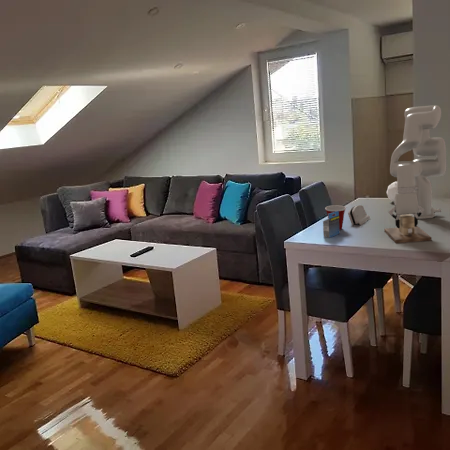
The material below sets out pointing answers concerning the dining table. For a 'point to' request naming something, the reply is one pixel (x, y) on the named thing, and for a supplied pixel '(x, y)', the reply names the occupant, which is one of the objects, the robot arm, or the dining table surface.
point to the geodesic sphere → (392, 191)
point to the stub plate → (401, 238)
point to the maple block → (406, 224)
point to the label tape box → (331, 225)
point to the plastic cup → (333, 209)
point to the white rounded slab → (358, 215)
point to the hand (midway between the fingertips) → (406, 226)
